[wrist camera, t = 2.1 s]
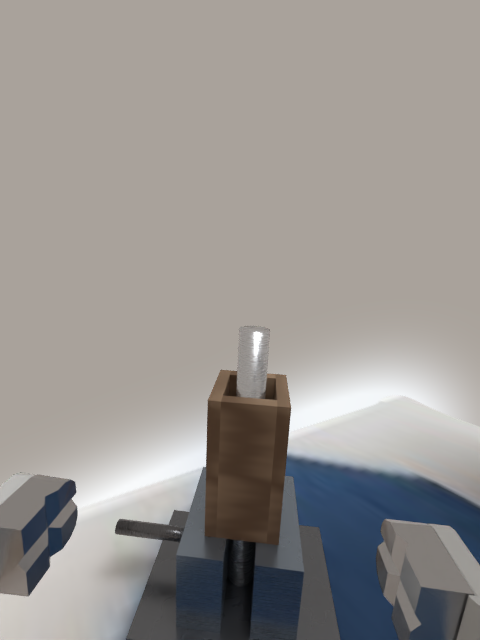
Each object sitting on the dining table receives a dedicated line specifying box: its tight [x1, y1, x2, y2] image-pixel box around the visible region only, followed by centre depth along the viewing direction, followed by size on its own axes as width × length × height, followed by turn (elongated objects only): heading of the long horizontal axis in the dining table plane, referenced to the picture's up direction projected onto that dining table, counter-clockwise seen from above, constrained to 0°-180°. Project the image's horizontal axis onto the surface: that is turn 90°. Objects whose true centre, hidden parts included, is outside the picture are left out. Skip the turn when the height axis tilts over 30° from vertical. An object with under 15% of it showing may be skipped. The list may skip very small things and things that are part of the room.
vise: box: [115, 326, 340, 640], centre depth 22 cm, size 17×10×22 cm, turn 85°
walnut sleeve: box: [205, 370, 291, 545], centre depth 21 cm, size 5×5×10 cm
